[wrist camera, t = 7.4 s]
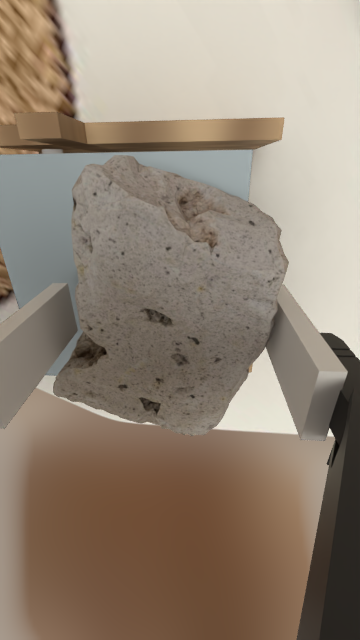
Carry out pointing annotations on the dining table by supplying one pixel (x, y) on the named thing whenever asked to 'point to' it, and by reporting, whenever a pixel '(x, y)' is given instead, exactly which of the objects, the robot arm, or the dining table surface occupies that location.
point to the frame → (137, 135)
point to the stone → (167, 295)
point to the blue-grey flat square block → (57, 206)
